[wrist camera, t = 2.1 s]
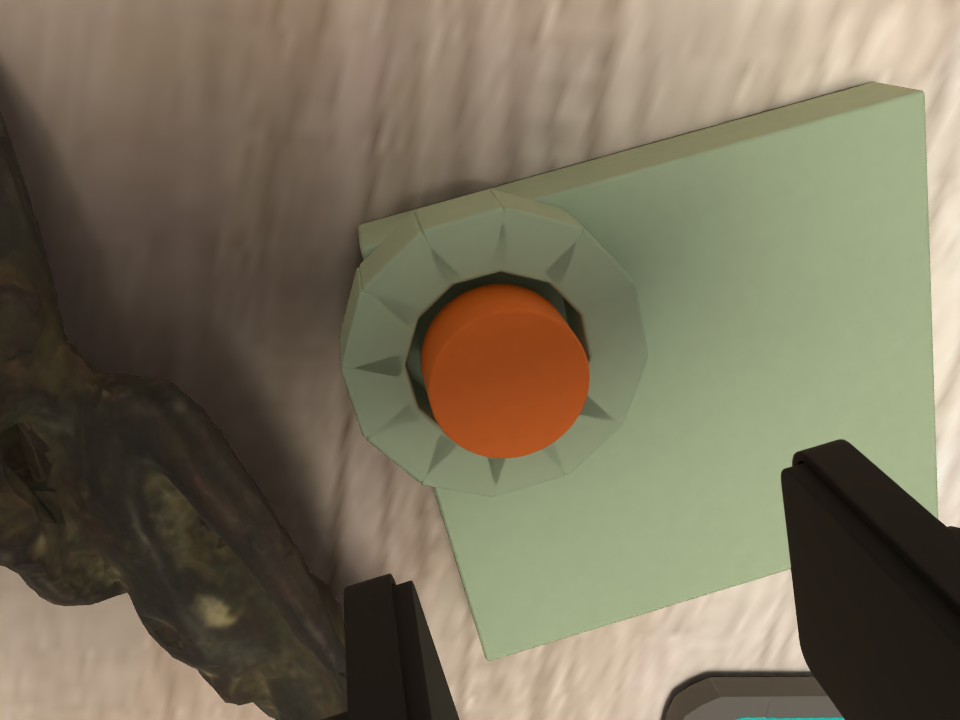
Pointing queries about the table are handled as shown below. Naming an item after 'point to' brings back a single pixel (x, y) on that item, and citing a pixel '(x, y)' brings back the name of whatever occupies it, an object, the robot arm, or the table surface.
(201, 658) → the statue
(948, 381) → the table surface
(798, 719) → the smartphone
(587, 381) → the button
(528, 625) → the scale
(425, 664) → the robot arm
